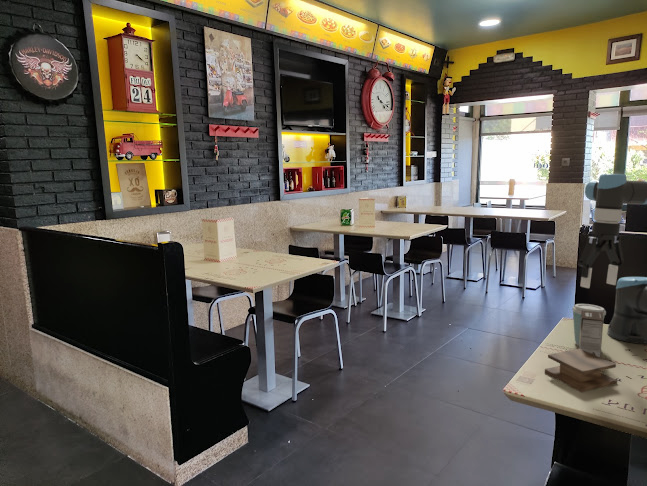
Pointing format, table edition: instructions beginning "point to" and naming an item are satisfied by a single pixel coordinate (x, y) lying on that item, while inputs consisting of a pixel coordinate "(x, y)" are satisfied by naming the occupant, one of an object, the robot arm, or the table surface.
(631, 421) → the table surface
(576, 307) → the disposable coffee cup
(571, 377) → the pedestal
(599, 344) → the coffee box
